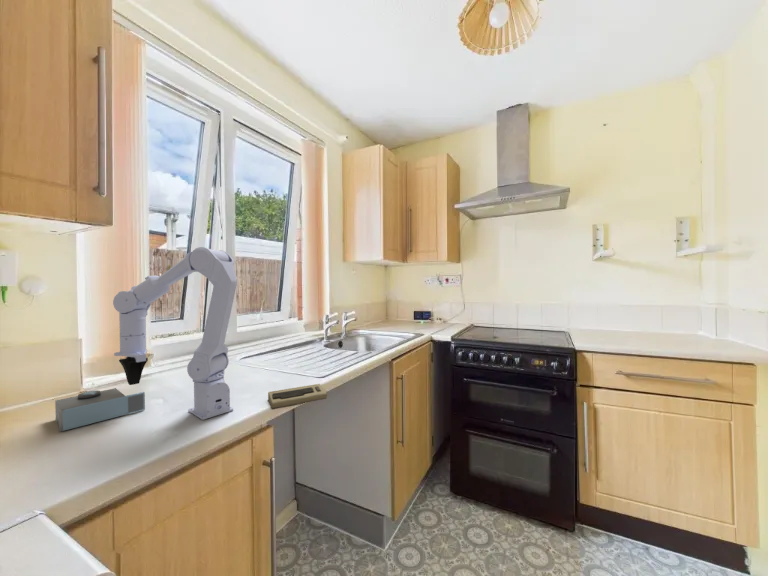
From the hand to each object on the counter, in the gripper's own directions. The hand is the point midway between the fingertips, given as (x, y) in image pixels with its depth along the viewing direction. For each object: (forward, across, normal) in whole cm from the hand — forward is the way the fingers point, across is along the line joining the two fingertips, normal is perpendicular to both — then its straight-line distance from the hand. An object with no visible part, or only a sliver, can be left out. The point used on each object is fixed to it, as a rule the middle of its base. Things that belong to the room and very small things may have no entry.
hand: (133, 383), depth 87 cm
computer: (+8, +30, +32) cm, 45 cm away
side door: (+7, +3, -7) cm, 10 cm away
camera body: (+7, -2, -8) cm, 11 cm away
